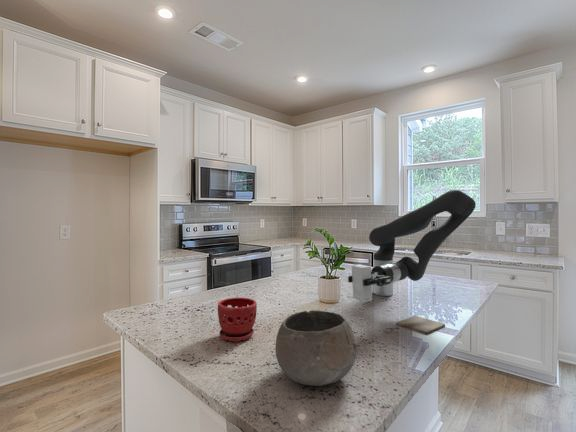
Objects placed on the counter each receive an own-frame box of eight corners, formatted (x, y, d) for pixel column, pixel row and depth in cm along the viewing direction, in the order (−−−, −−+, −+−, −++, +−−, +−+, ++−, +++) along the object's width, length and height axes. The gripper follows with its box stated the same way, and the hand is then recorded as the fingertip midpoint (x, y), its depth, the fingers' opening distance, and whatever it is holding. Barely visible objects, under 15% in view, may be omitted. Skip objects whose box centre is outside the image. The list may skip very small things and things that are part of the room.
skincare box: (372, 300, 111) (372, 266, 111) (362, 302, 109) (362, 267, 109) (361, 296, 117) (361, 263, 117) (351, 298, 115) (351, 265, 115)
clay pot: (296, 410, 68) (295, 341, 68) (264, 367, 87) (263, 312, 87) (375, 387, 77) (374, 325, 76) (330, 351, 96) (329, 302, 95)
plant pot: (240, 347, 100) (239, 310, 99) (210, 339, 107) (209, 304, 106) (264, 333, 111) (264, 299, 110) (236, 326, 118) (235, 294, 117)
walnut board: (396, 324, 117) (396, 322, 117) (414, 317, 124) (414, 315, 124) (426, 334, 107) (426, 332, 107) (445, 326, 114) (445, 324, 114)
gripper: (370, 262, 127) (341, 267, 117) (402, 267, 115) (372, 273, 105) (371, 280, 127) (341, 287, 117) (402, 287, 115) (372, 296, 106)
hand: (356, 281), depth 111 cm, fingers closed on skincare box, 6 cm apart
